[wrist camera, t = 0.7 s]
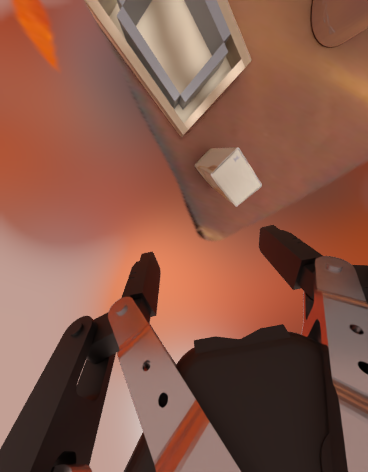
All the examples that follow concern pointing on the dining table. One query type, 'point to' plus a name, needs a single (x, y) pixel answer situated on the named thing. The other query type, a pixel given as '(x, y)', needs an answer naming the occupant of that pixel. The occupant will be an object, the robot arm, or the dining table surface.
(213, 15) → the inlet collar
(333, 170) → the dining table surface
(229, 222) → the dining table surface
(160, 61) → the walled box
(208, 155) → the skincare box
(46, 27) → the dining table surface
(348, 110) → the dining table surface
